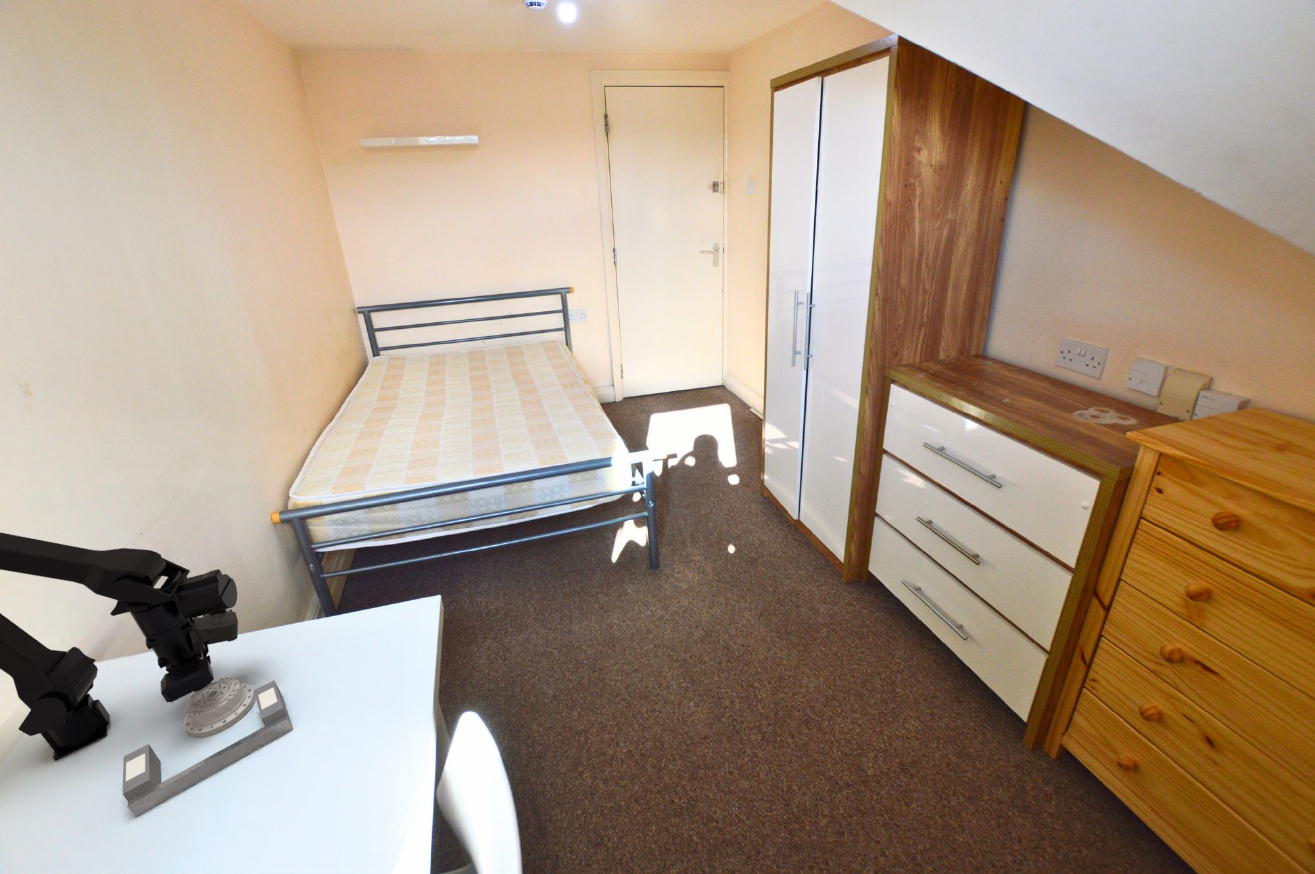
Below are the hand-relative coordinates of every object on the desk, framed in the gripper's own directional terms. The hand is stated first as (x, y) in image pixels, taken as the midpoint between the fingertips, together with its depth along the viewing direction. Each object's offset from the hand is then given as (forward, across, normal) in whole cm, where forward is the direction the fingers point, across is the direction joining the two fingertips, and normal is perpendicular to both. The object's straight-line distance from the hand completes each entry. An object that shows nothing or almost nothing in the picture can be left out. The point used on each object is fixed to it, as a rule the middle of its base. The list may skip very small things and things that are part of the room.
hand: (205, 691), depth 99 cm
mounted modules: (+2, -14, 0) cm, 14 cm away
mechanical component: (+2, -5, -1) cm, 6 cm away
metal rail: (+2, -18, 0) cm, 18 cm away
